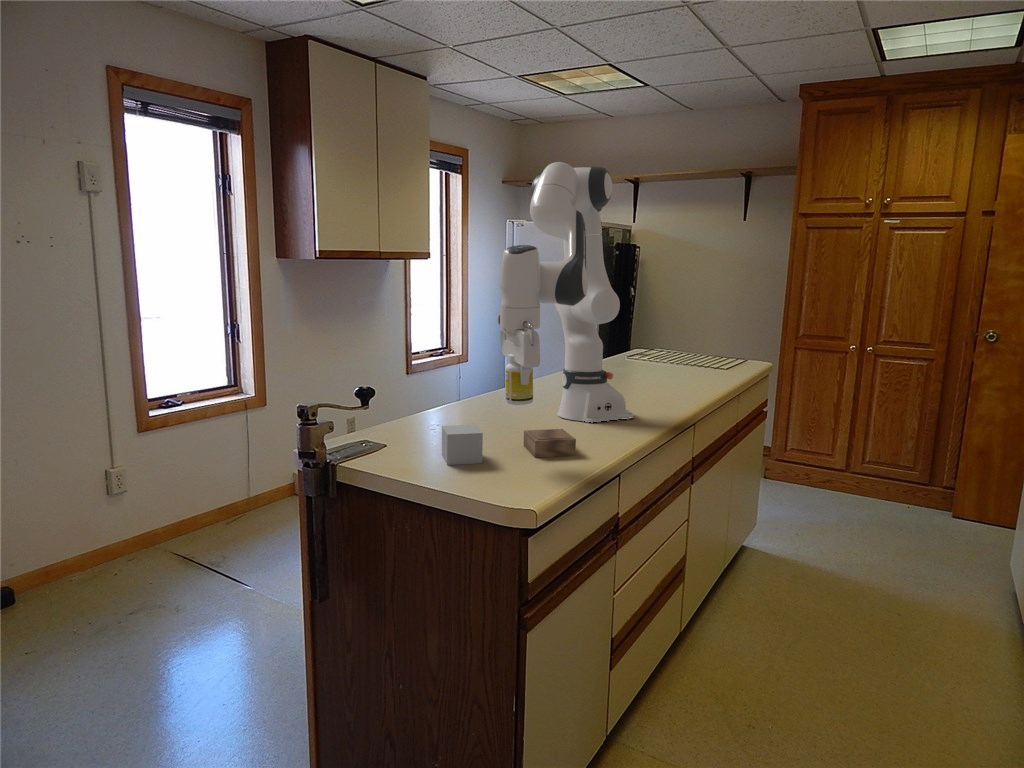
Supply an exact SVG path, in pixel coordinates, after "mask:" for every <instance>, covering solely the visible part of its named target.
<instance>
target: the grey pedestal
mask: <svg viewBox="0 0 1024 768" xmlns="http://www.w3.org/2000/svg"><path fill="white" fill-rule="evenodd" d="M483 435H484V433H483V431H482V430H481V429H480V428H479V427H478V426H477V424H462V425H461V424H460V425H459V424H458V425H442V426H441V456H442V458H443V460H444V462H445V464H446V466H451V465H456V466H457V465H470V464H471V465H473V464H483V443H484V442H483V437H484V436H483Z"/></svg>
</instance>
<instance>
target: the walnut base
mask: <svg viewBox="0 0 1024 768" xmlns="http://www.w3.org/2000/svg"><path fill="white" fill-rule="evenodd" d="M576 443H577V439H576V438H575V437H574V436H573V435H571V434H570V433H568V432H567V431H566V430H565V429H564V428H553V429H552V428H550V429H548V428H547V429H529V430H528V429H526V430H525V429H524V430H523V448H525V449H526V450H527V451H528V453H530V455H532V457H534V458H551V457H570V456H572V455H573V456H576V449H577V448H576V446H577V444H576Z"/></svg>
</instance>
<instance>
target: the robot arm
mask: <svg viewBox="0 0 1024 768" xmlns="http://www.w3.org/2000/svg"><path fill="white" fill-rule="evenodd" d="M530 189H531V190H530V194H531V195H530V196H531V199H530V205H529V215H530V218H531V221H532V222H533V224H534V225H535V227H537V228H538V229H539V230H540V231H541V232H543V233H544V234H546V235H549V236H552V237H556V238H559V239H562V240H563V241H562V242H563V256H564V259H562V260H557V261H556V260H555V261H553V260H552V261H551V260H547V261H546V260H540V254H539V250H538V248H537V247H536V246H534V245H531V244H527V245H526V244H519V245H511V246H508V247H507V248H505V249H504V251H503V254H502V260H501V267H500V290H501V296H502V297H501V301H500V305H499V306H500V307H499V309H500V313H499V314H498V316H497V324H498V325H499V326H500V329H499V334H500V335H499V336H500V346H501V354H502V355H503V356H504V357H506V358H507V359H509V354H511V355H513V356H514V361H515V362H516V363H518V364H519V365H520V369H521V376H520V383H521V384H522V385H528V384H529V376H530V372H531V367H533V368H538V367H539V366H540V364H541V345H540V343H541V342H540V341H541V340H540V335H539V332H538V331H536V330H537V329H540V328H541V304H554V309H555V310H556V312H557V313H558V315H559V317H560V321H561V327H562V332H563V337H564V368H563V370H562V379H561V381H562V394H561V395H562V396H561V400H560V401H561V402H560V405H559V408H558V411H557V416H559V418H563V419H565V420H571V421H580V422H584V421H585V423H589V422H591V423H590V424H594V423H593V422H597V423H602V422H601V421H607V422H610V421H609V420H616V419H622V418H629V417H633V418H634V414H633V412H631V410H627V405H626V399H625V396H624V394H622V393H621V392H619V391H618V390H617V389H616V388H614V386H612V384H610V383H609V382H608V380H610V381H611V380H613V379H614V373H613V372H610V371H606V370H604V369H603V358H604V357H603V356H604V355H603V353H604V351H603V350H604V344H603V340H602V339H601V338H600V335H599V334H598V330H597V325H602V324H606V323H609V322H611V321H613V320H615V318H616V317H617V316H618V314H619V311H620V307H621V305H620V303H621V302H620V298H619V296H618V294H617V293H616V292H615V291H614V289H613V287H612V286H611V283H610V280H609V279H610V278H609V277H608V273H607V270H606V266H605V261H604V245H603V229H602V220H601V219H602V218H601V214H600V212H601V211H602V209H603V208H604V207H605V206H607V204H608V203H609V201H610V200H611V197H612V193H613V181H612V178H611V175H610V172H609V171H608V170H607V168H605V167H603V166H595V165H593V166H591V167H590V166H589V167H586V166H585V167H581V166H579V167H573V166H572V165H570V164H569V163H566V162H562V161H555V162H552V163H549V164H548V165H547V166H546V167H545V168H544V169H543V171H542V173H541V174H539V175H536V177H535V178H534V179H533V181H532V183H531V187H530ZM509 363H510V361H509V360H508V364H509Z"/></svg>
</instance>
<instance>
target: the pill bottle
mask: <svg viewBox="0 0 1024 768" xmlns="http://www.w3.org/2000/svg"><path fill="white" fill-rule="evenodd" d="M509 361H510V363H509ZM533 369H534V367H531V372H530V376H529V384H528V385H522V384H521V383H520V376H521V369H520V365H519V364H518V363H516V362H515V361H514V356H513V355H511V354H509V358H508V364H506V366H505V370H504V371H505V401H506V403H507V404H508V405H512V406H513V405H514V406H525V405H529V404H532V403H533V401H534V370H533Z"/></svg>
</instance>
